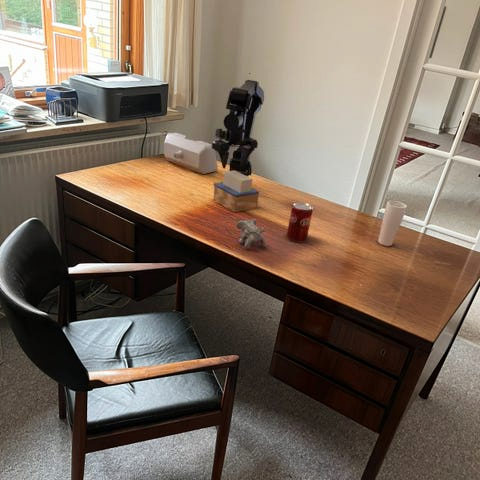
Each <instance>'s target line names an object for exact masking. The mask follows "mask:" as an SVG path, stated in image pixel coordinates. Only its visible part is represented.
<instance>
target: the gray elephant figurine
mask: <svg viewBox="0 0 480 480" xmlns="http://www.w3.org/2000/svg"><path fill="white" fill-rule="evenodd" d="M236 229H238V230H240V231H241V232H240V239H239V240H238V243H239V244H240V245H243V244H244V242H245V241H246V242H245V244H244V249H245V250H249V249H250V246H251V245H252V243H253V244H254V245H255V244H256V243H260V245H261V246H262V247H265V246H266V239H265V238H264V236H263V234H262V233H265V231H266V230H265V227H262V226H261V227H258V226H257V219H256V218H252V219H248V220H239V221H237V222H236Z"/></svg>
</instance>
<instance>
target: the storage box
mask: <svg viewBox="0 0 480 480" xmlns="http://www.w3.org/2000/svg"><path fill="white" fill-rule="evenodd" d="M259 196H260V193H259V194H253V195H247V196H242V197H234V196H232V195H230V194H229V193H227V192H225V191H223V190H221V189H219V188H218V187H216V186H214V185H213V198H212V200H213V201H214V202H216V203H218V204H220V205H221V206H223V207H225V208H226V209H228V210H229V211H231V212H233V213H238V212H243V211H248V210H253V209H257V208H258V204H259V198H260V197H259Z"/></svg>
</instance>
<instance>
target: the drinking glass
mask: <svg viewBox="0 0 480 480" xmlns="http://www.w3.org/2000/svg"><path fill="white" fill-rule="evenodd" d="M407 207H408V206H407V204H405V202H404V203H403V202H401V201H398V200H388V201H387V203H386V206H385V209H384V212H383V215H382V216H383V217H382V221H381V225H380V229H379V234H378V239H377V242H378V244H379V245H381V246H384V247H391V246H392V245H393V244H394V242H395V238H396V237H397V233H398V232H399V229H400V226H401V224H402V222H403V219H404V217H405V214H406V210H407Z"/></svg>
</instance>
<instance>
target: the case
mask: <svg viewBox="0 0 480 480" xmlns="http://www.w3.org/2000/svg"><path fill="white" fill-rule="evenodd" d="M222 177H223V178H222V182H223V184H224V185H226V186H228V187H230V188H232V189H233V190H235V191H237V192H239V193H244V192H250V191H251V188H253V187H252V186H253V178H251V177H249V176H248V177H247V176H245V175H243V174H241V173H239V172H237V171H235V170H234V171H230V170H229V171H223V176H222Z"/></svg>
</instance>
